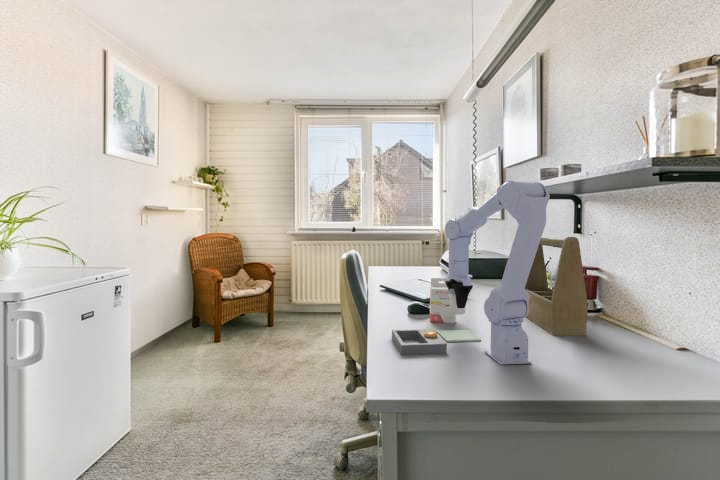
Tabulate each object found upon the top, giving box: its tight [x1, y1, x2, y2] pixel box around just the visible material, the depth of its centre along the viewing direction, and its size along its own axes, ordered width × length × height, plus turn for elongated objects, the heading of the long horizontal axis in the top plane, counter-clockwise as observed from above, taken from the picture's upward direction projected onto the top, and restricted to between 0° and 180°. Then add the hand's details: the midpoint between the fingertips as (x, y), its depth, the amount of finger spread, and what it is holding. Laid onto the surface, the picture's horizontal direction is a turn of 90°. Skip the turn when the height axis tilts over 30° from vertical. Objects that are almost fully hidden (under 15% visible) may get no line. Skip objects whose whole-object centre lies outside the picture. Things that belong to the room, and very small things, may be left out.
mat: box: [436, 329, 482, 343], centre depth 114 cm, size 10×10×1 cm
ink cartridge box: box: [429, 277, 457, 324], centre depth 132 cm, size 9×5×15 cm, turn 84°
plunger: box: [424, 331, 438, 338], centre depth 106 cm, size 4×4×3 cm
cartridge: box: [449, 288, 466, 316], centre depth 114 cm, size 4×4×7 cm
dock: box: [391, 328, 448, 356], centre depth 106 cm, size 14×12×2 cm
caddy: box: [524, 236, 589, 337], centre depth 129 cm, size 29×11×30 cm, turn 176°
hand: (458, 306), depth 114 cm, fingers closed on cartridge, 4 cm apart
